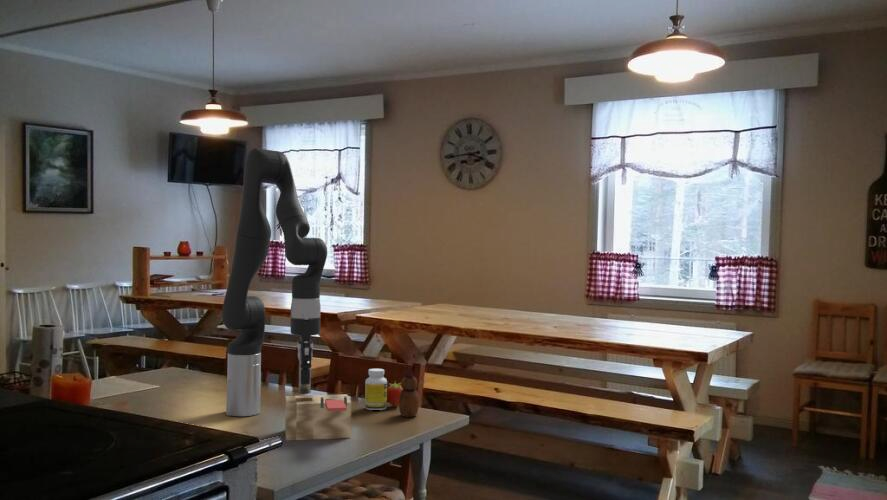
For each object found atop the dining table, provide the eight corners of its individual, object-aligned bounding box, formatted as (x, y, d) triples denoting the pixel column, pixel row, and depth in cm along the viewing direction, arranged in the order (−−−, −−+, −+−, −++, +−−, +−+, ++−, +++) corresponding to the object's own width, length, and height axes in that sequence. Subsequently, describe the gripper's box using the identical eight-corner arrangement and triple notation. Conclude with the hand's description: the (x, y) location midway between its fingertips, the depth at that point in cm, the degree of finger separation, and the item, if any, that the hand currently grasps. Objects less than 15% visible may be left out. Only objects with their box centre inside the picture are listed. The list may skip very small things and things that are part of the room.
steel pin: (298, 394, 193) (299, 350, 193) (298, 391, 196) (298, 348, 196) (311, 393, 194) (311, 350, 194) (310, 391, 197) (310, 348, 197)
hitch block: (286, 442, 188) (287, 399, 188) (285, 430, 199) (285, 389, 199) (351, 439, 192) (352, 397, 192) (346, 427, 203) (347, 388, 203)
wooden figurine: (398, 413, 221) (399, 361, 221) (418, 413, 222) (419, 361, 221) (398, 418, 215) (399, 365, 214) (419, 418, 215) (420, 365, 215)
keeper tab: (328, 411, 182) (328, 407, 182) (324, 402, 191) (324, 398, 191) (346, 411, 183) (346, 407, 183) (342, 402, 192) (342, 398, 192)
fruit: (396, 409, 226) (396, 382, 226) (382, 407, 228) (382, 380, 228) (406, 406, 230) (407, 379, 230) (392, 403, 233) (393, 377, 233)
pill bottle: (383, 412, 222) (384, 372, 222) (362, 410, 223) (362, 371, 223) (389, 407, 229) (390, 368, 228) (368, 405, 230) (369, 367, 230)
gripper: (289, 313, 201) (288, 378, 201) (291, 318, 187) (290, 388, 188) (318, 312, 203) (317, 377, 203) (322, 318, 189) (321, 387, 189)
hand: (304, 382), depth 195 cm, fingers closed on steel pin, 3 cm apart
